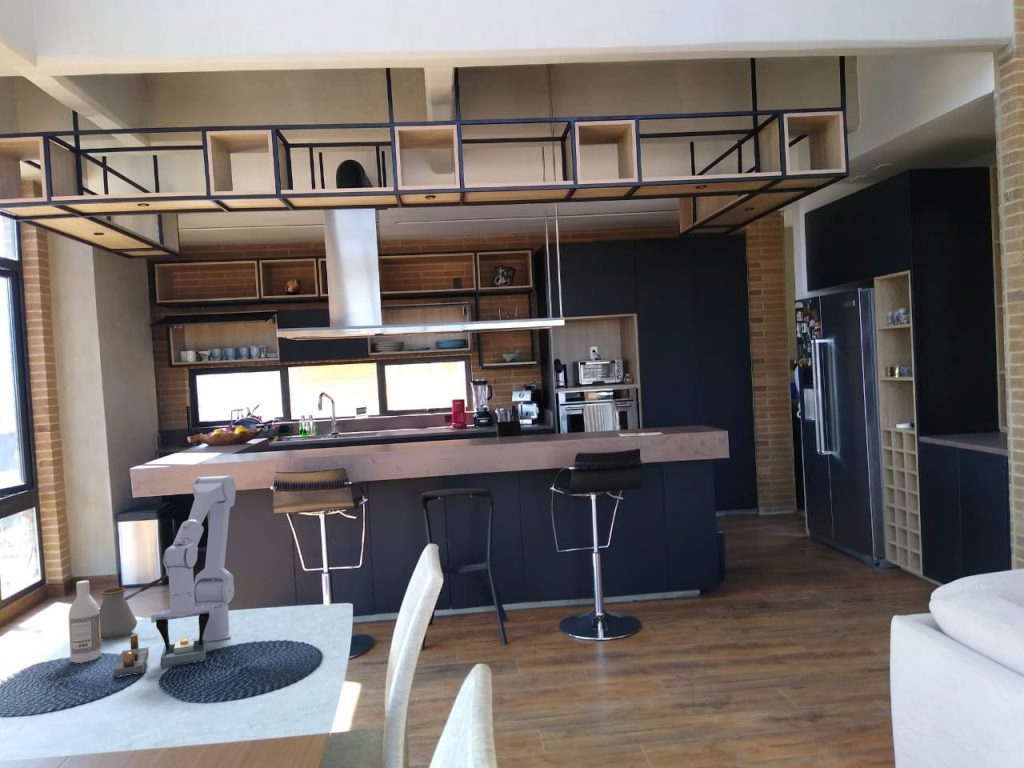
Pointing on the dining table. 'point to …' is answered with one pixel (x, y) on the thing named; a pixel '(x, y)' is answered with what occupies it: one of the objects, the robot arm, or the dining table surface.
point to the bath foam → (84, 625)
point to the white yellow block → (184, 646)
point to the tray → (183, 655)
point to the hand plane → (132, 659)
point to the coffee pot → (118, 612)
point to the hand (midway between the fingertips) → (184, 646)
